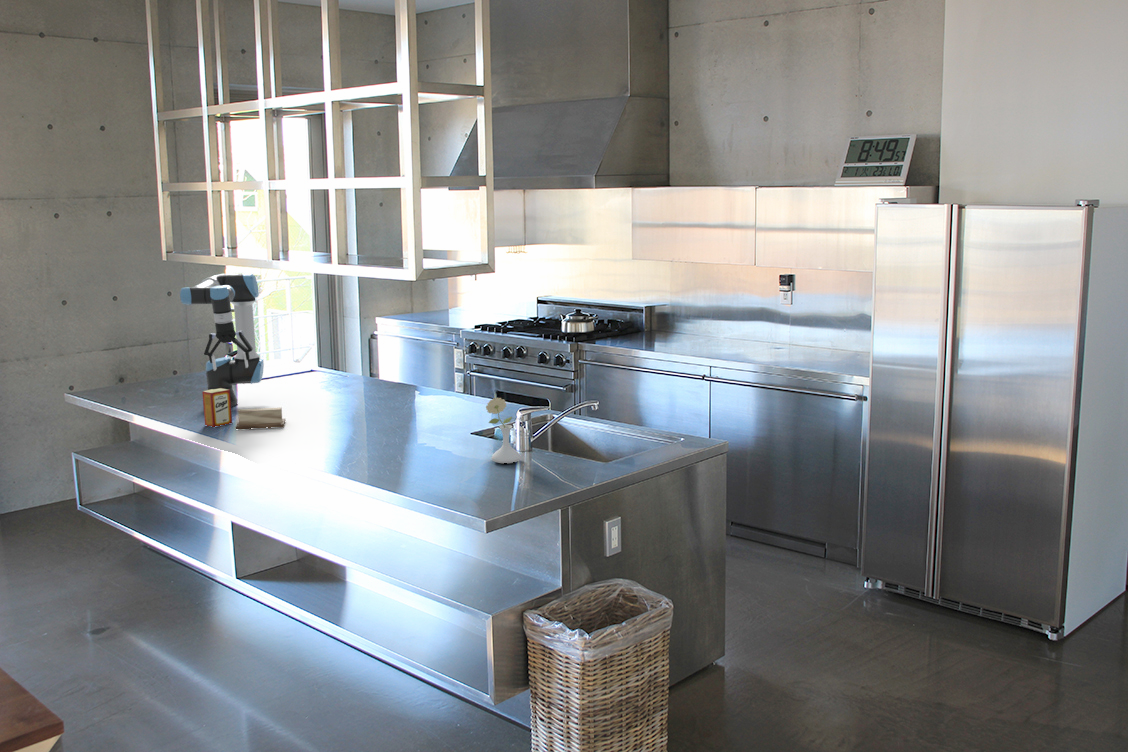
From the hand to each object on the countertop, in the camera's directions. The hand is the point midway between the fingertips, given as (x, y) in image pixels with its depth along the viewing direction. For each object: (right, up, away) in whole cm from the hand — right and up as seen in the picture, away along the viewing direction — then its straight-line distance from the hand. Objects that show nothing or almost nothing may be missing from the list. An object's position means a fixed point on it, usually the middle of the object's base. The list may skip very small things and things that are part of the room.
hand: (231, 368), depth 415 cm
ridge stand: (+12, -26, +4) cm, 29 cm away
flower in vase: (+124, -36, -59) cm, 142 cm away
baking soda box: (-8, -25, +7) cm, 27 cm away
